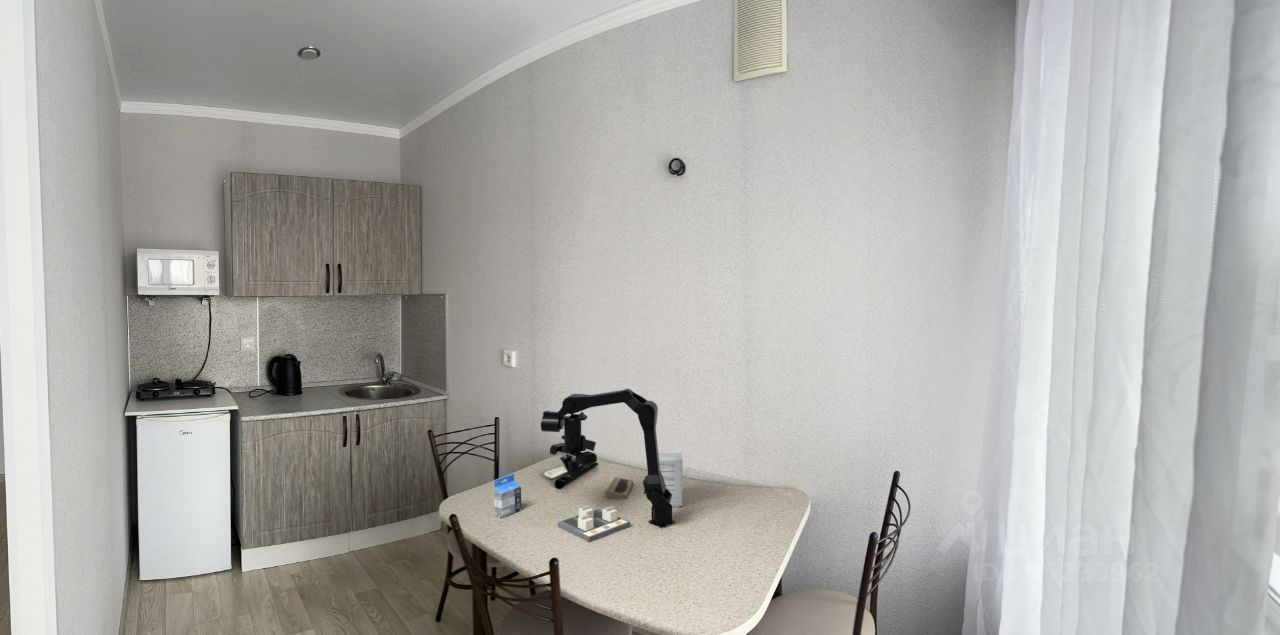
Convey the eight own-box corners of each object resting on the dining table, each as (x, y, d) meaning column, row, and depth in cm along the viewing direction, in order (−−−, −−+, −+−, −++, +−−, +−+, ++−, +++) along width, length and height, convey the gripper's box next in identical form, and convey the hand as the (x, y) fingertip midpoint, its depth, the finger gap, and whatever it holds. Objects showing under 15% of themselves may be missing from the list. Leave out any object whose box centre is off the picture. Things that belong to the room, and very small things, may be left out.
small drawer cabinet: (682, 507, 206) (683, 460, 205) (656, 507, 206) (656, 460, 205) (681, 497, 215) (681, 452, 214) (656, 497, 215) (656, 452, 214)
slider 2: (617, 519, 191) (617, 508, 190) (610, 522, 189) (610, 510, 188) (609, 516, 194) (609, 504, 193) (602, 518, 191) (602, 507, 191)
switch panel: (630, 526, 189) (630, 521, 189) (588, 542, 177) (588, 536, 177) (598, 512, 201) (598, 507, 201) (557, 526, 189) (557, 521, 189)
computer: (626, 500, 214) (626, 491, 213) (605, 499, 215) (605, 490, 215) (633, 486, 229) (633, 477, 229) (613, 485, 230) (613, 476, 230)
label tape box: (501, 518, 196) (501, 482, 195) (493, 515, 198) (493, 479, 197) (522, 510, 203) (521, 475, 202) (514, 507, 205) (513, 473, 204)
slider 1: (593, 528, 184) (593, 516, 184) (585, 531, 182) (585, 519, 181) (585, 524, 187) (585, 512, 186) (577, 527, 185) (577, 515, 184)
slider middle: (593, 518, 192) (593, 507, 191) (586, 521, 189) (586, 509, 189) (586, 515, 194) (585, 503, 194) (578, 517, 192) (578, 506, 192)
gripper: (609, 433, 194) (609, 480, 195) (575, 423, 208) (575, 467, 209) (582, 439, 187) (583, 487, 188) (548, 429, 200) (549, 474, 201)
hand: (572, 478), depth 196 cm, fingers closed
